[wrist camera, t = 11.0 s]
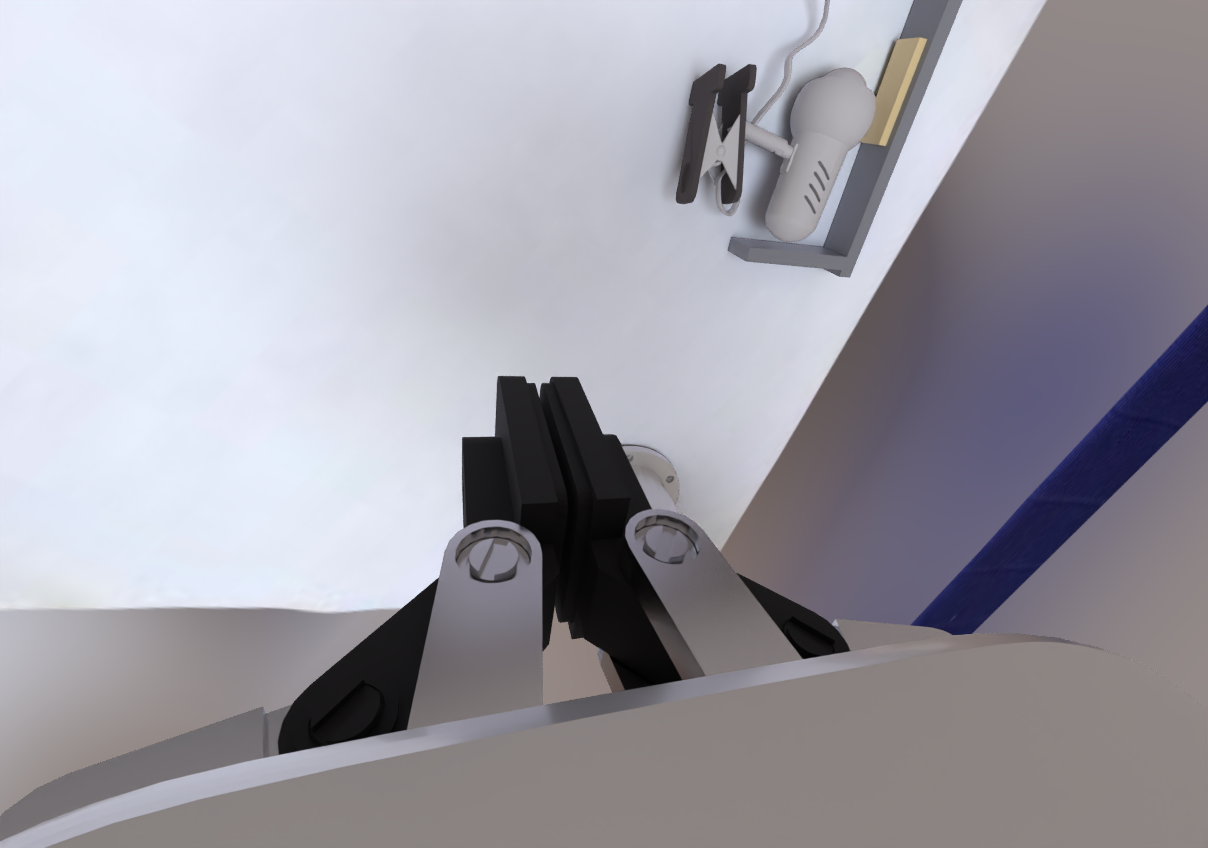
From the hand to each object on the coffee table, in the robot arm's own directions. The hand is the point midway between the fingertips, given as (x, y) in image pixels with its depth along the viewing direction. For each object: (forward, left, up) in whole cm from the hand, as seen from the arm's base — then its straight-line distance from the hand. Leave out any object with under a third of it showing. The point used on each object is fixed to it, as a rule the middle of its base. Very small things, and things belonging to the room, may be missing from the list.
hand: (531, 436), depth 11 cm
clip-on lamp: (+10, -19, -28) cm, 35 cm away
